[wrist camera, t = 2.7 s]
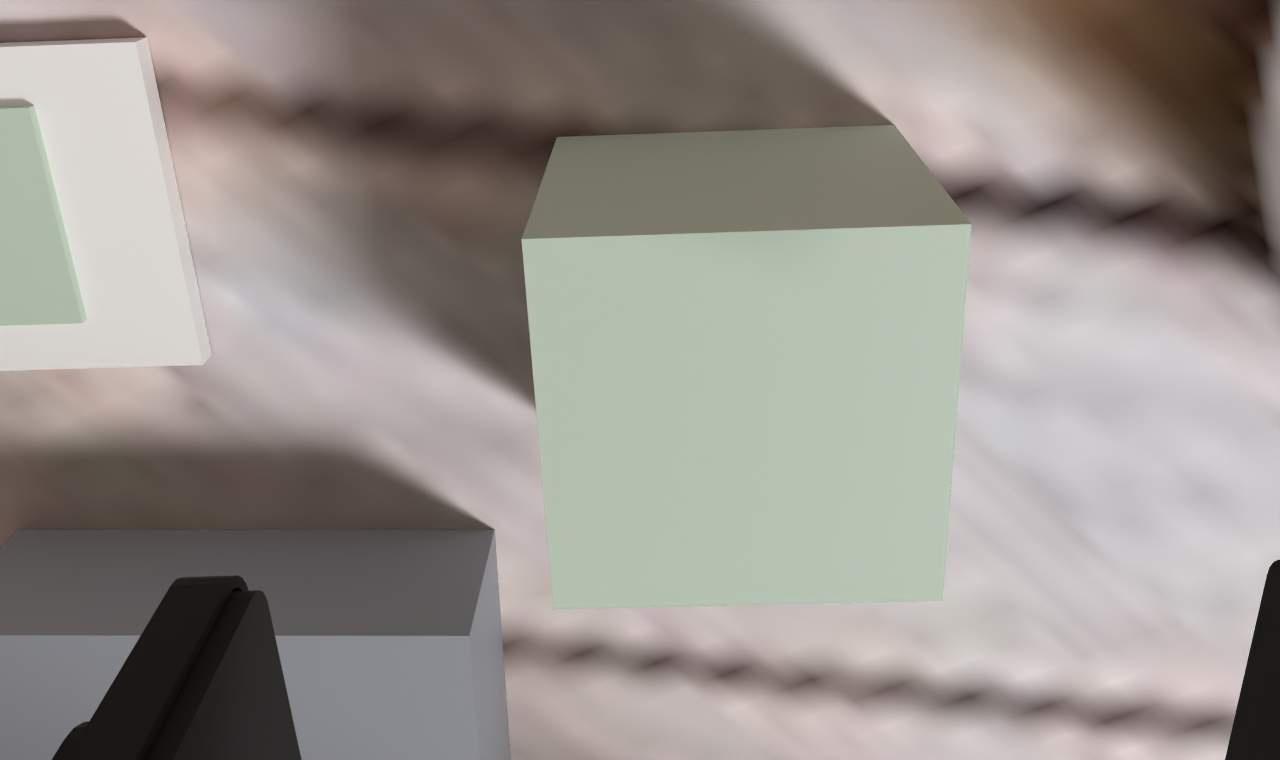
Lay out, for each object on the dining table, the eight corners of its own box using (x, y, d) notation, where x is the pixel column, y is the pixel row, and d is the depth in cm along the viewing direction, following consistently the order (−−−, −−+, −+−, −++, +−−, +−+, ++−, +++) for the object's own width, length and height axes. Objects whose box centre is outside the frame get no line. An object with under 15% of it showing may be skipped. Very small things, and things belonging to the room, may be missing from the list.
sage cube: (893, 123, 22) (971, 224, 16) (879, 424, 24) (942, 600, 19) (557, 135, 22) (521, 238, 16) (578, 433, 24) (552, 609, 19)
